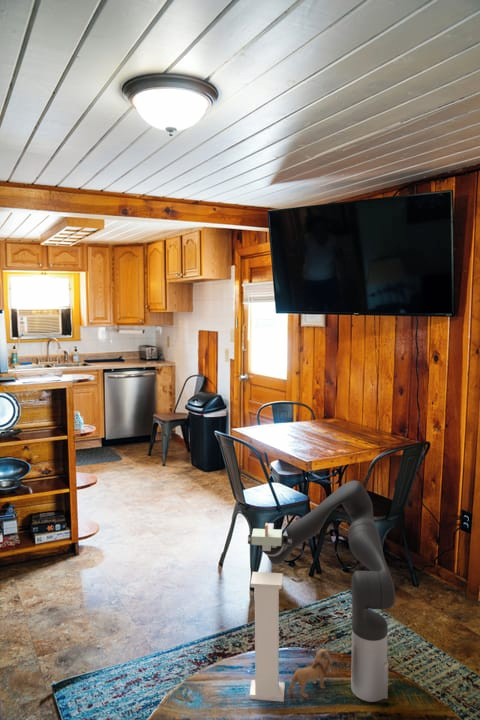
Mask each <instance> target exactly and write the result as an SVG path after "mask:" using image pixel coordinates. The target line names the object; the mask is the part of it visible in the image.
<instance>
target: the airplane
mask: <svg viewBox="0 0 480 720" xmlns="http://www.w3.org/2000/svg"><path fill="white" fill-rule="evenodd" d="M251 533H252V536H251V540H252V544H251V546H252V545H253V546H259V545H262V550H261V551H262V552H263V551H271V546H281V542H282V535H283V530H282V529H275V523H271V522H269V523H268V522H265V525H264V528H252V532H251Z"/></svg>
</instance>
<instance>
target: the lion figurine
mask: <svg viewBox="0 0 480 720" xmlns="http://www.w3.org/2000/svg"><path fill="white" fill-rule="evenodd" d="M330 663H331V656H330V653H329V650H328V649H327V648H320V649H318V650H317V651H316V653H315V659H314V663H312V665H310V666H308V667H305V668H303V667H301V668H297V669H296V670H295V671H294V673H293V676H292V678H291V683H290V685H289V687H288V693H289V699H288V700H290V701H291V700H292V699H293V695H294V690H293V689H294V686H296V685H297V684H298V686H299V688H300V689H299V690H300V691H299V693H300V694H301V696H303V697H304V698H306V699H307V698H308V697H309V695H308V693H306V692H305V689H306V685H307V682H312V683H313V684H315V685H316V684H317V683H318V680H317V679H319V687H320V688H321V689H325V688H326V685H325V684H324V682H325V676H326V675H327V674H328V672H329V671H330V670H329V669H330Z"/></svg>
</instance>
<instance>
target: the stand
mask: <svg viewBox="0 0 480 720" xmlns="http://www.w3.org/2000/svg"><path fill="white" fill-rule="evenodd" d="M283 577H284V573H281V572H264V571H252V574H251V578H250V579H251V580H250V582H249V583H250V588H254V652H255V653H254V664H255V665H254V674H255V675H254V679H251V682H250V690H249V700H257V701H258V700H259V701H270V702H272V701H273V702H283V703H284V702H285V689H286V687H285V685H286V684H285V682H284V681H280V666H279V665H280V652H279V651H280V648H279V647H280V644H279V643H280V629H279V627H280V625H279V622H280V621H279V620H280V618H279V617H280V615H279V613H280V611H279V609H280V607H279V606H280V602H279V601H280V599H279V595H280V590H282V588H283V579H284V578H283Z"/></svg>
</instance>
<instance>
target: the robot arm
mask: <svg viewBox="0 0 480 720" xmlns="http://www.w3.org/2000/svg"><path fill="white" fill-rule="evenodd" d="M371 499H372V498H371V497H370V495H369V494H368V492H367V490H366V489H365V486H364V485H363V484H362V483H361V482H360V481H359V480H355V479H354V480H350V481H347V482H346V483H344V484H342V485H341V486H339V487H338V488H337V489H336V490H335V491H334V492H333V491H332V493H330V495H329V496H327V497H326V498H325V499H324V500H322V501H321V503H319V504H318V505H317V506H316V507H315V508H313V509H312V510H311V511H309V512H308V513H307V514H305V515H304V516H302V517H301V518H298V519H297V520H296V521H294V522H292V523H291V524H290V525H288V526H287V527H286V529H285V531H286V534H287V535H285V534H282V542H281V546H271V551H262V545H258V547H259V549H260V550H261V551H262V552H263V553H264V555H267V557H268V560H269V561H270V563H271V564H273V565H280V564H282V563H283V562H284V561H286V559H287V558H288V557H289V556H290V555H291V554H292V553H293V552H294V550H296V548H298V547H299V546H300V545H302V544H303V543H305V542H306V541H308V540H310V539H312V538H313V537H314V536H316V535H317V534H318V533H319V532H320V531H321V529H322V528H323V526H324V524H325V522H326V520H327V518H328V517H329V515H330V514H331V513H332V512H333V510H334V509H336V508H337V507H338V506H340V505H342V506H343V508H344V510H345V512H346V513H347V514H348V517H349V518H350V521H351V524H350V526H349V527H348V531H347V539H348V545H349V549H350V551H351V554H352V555H353V556H354V558H355V559H356V560H357V561H359V563H360V564H362V565H363V566H364V567H366V568H367V569H368V570H355V571H354V572H353V573H352V576H351V604H352V606H351V609H352V610H351V612H352V613H351V618H352V619H351V658H350V659H351V660H350V661H351V663H350V664H351V667H350V669H351V670H350V674H351V675H350V677H351V678H350V689H351V691H352V694H353V695H354V696H356V697H357V698H358V699H360V700H362V701H365V702H369V703H372V702H373V703H375V702H379V701H382V700H384V699H386V700H387V699H388V698H389V697H388V695H389V693H388V691H389V685H388V684H389V662H388V634H389V631H388V629H389V628H388V627H389V625H388V622H387V620H386V618H385V617H384V616H383V615H381V614H380V613H378V612H376V611H374V610H389V609H391V608H393V607H394V605H395V603H396V602H395V601H396V591H395V585H394V581H393V577H392V575H391V572H390V568H389V566H388V565H387V562H386V559H385V555H384V551H383V546H382V545H383V544H382V541H381V537H380V534H379V533H380V532H379V529H378V527H377V524H376V522H375V519H374V507H373V502H372V500H371ZM251 536H252V534H247V544H248V545H252V540H251Z"/></svg>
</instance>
